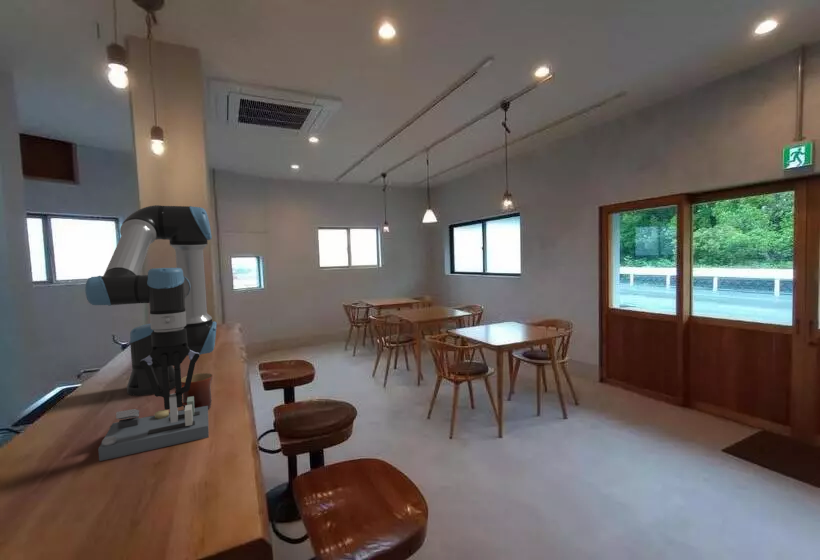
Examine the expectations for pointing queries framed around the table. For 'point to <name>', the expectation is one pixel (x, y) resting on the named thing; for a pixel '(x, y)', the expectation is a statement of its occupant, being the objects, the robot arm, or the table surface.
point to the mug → (198, 390)
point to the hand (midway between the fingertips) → (174, 420)
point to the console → (152, 433)
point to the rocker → (127, 414)
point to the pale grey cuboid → (188, 415)
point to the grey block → (191, 401)
